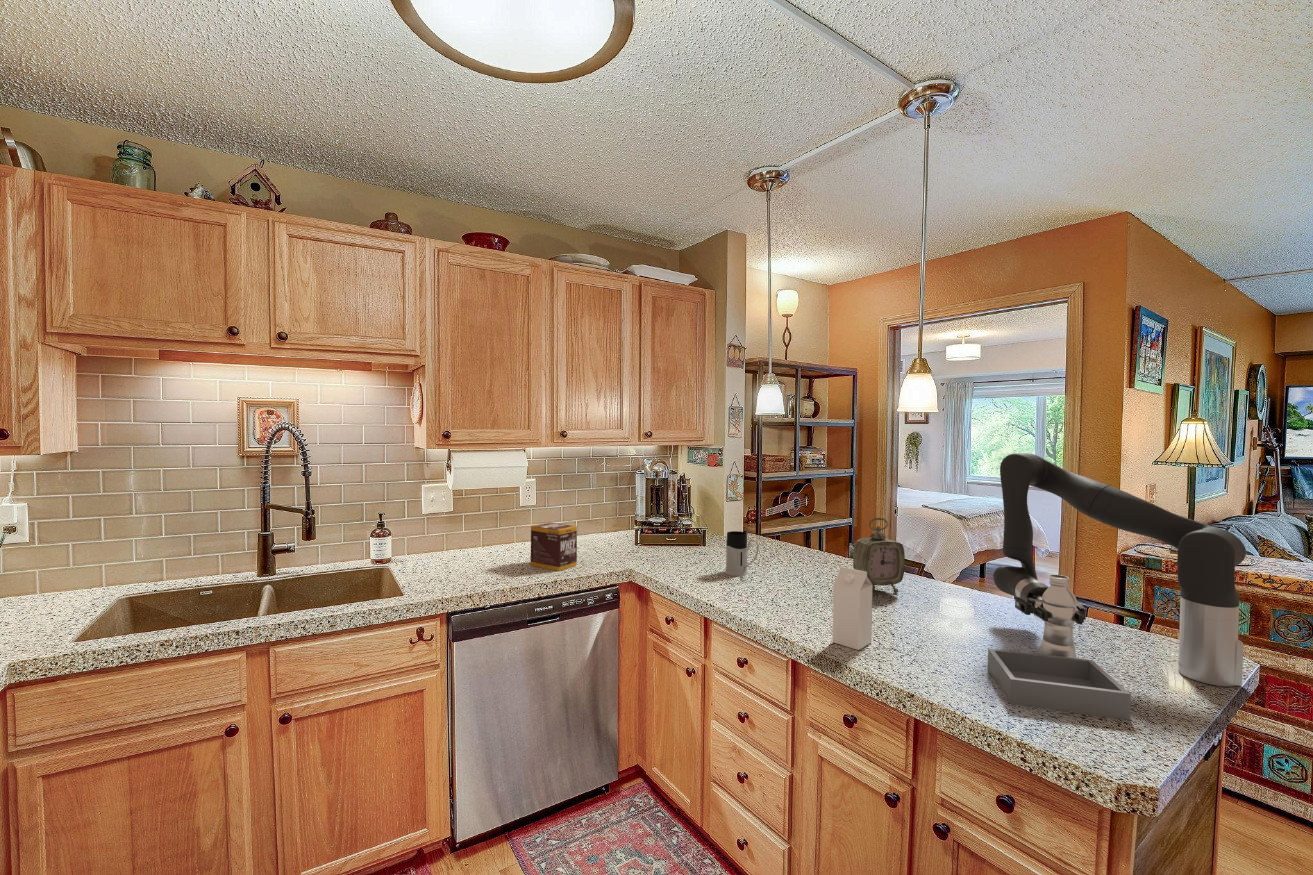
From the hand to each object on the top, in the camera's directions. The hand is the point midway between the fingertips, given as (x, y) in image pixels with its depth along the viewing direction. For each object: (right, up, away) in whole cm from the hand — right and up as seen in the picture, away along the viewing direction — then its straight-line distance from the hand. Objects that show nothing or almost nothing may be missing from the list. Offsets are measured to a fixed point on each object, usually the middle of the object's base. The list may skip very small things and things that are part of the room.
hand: (1063, 618), depth 126 cm
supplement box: (-133, -9, +90) cm, 161 cm away
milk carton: (-43, -12, +16) cm, 47 cm away
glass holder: (-61, -10, +80) cm, 101 cm away
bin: (-10, -12, -10) cm, 19 cm away
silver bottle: (+1, -11, +3) cm, 11 cm away
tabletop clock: (-19, -11, +60) cm, 63 cm away
